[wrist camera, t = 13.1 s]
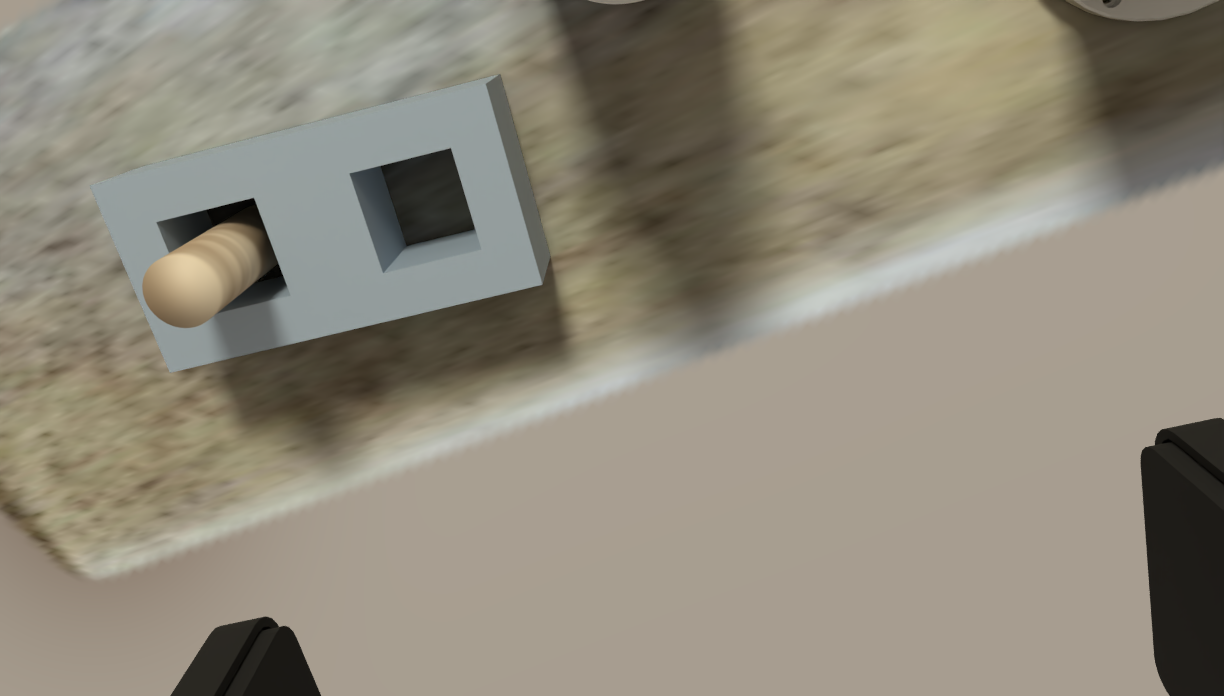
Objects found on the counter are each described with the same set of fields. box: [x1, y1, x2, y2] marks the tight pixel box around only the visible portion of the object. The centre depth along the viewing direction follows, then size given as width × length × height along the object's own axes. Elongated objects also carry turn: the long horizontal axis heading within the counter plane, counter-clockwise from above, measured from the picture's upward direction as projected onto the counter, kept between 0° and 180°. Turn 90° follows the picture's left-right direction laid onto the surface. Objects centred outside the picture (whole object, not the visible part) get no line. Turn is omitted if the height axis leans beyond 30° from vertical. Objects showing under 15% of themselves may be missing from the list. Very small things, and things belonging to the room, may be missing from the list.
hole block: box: [90, 74, 550, 373], centre depth 46 cm, size 18×9×5 cm, turn 104°
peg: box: [142, 205, 278, 328], centre depth 44 cm, size 3×3×10 cm
